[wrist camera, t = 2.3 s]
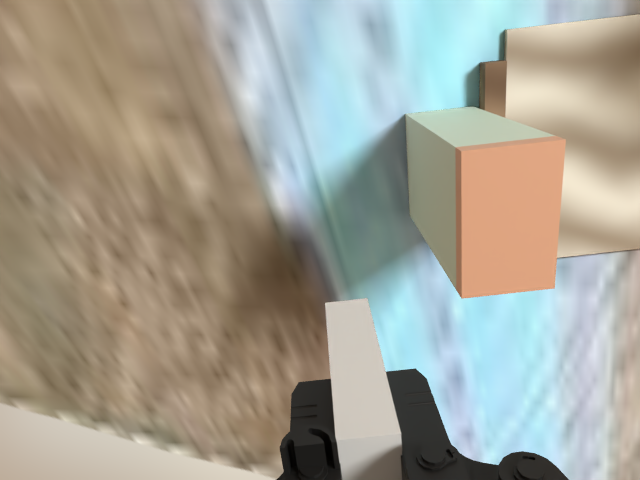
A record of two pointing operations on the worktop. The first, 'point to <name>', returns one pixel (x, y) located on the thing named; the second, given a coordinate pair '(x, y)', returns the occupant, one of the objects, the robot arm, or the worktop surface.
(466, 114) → the sage block
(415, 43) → the worktop surface
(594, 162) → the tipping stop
